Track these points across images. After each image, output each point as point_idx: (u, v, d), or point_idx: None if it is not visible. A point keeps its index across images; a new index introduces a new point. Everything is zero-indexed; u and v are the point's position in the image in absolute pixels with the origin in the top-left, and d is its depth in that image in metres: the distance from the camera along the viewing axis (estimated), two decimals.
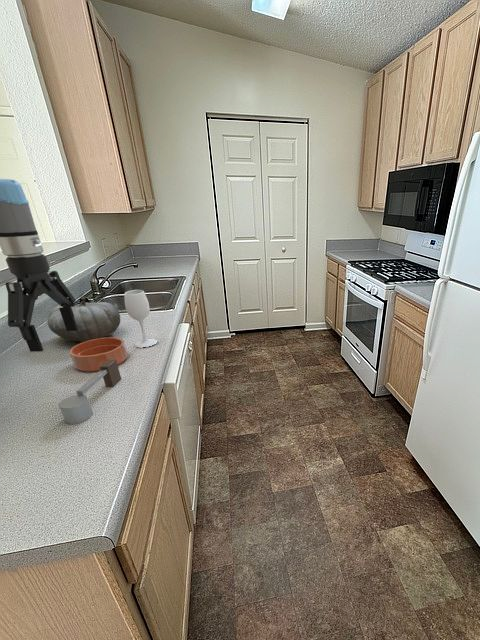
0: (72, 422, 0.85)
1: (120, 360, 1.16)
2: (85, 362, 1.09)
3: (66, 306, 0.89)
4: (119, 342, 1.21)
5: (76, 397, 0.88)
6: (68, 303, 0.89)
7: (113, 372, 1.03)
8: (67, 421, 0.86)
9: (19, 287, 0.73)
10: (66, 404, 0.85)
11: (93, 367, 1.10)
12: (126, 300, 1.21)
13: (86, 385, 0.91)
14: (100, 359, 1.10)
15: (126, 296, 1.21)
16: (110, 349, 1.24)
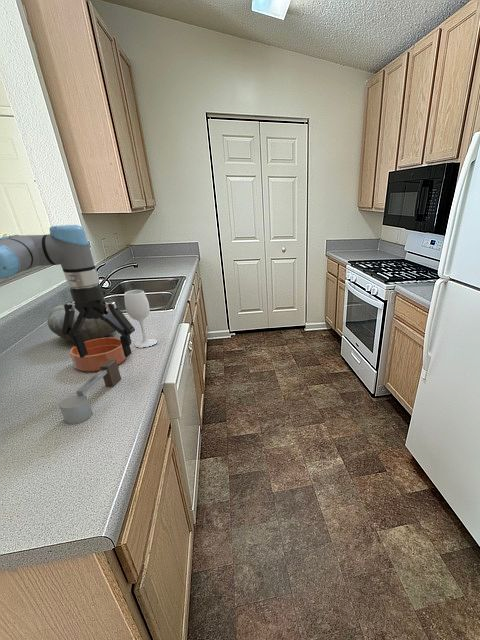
0: (72, 422, 0.85)
1: (120, 360, 1.16)
2: (85, 362, 1.09)
3: None
4: (119, 342, 1.21)
5: (76, 397, 0.88)
6: (120, 333, 0.96)
7: (113, 372, 1.03)
8: (67, 421, 0.86)
9: (66, 308, 0.93)
10: (66, 404, 0.85)
11: (93, 367, 1.10)
12: (126, 300, 1.21)
13: (86, 385, 0.91)
14: (100, 359, 1.10)
15: (126, 296, 1.21)
16: (110, 349, 1.24)
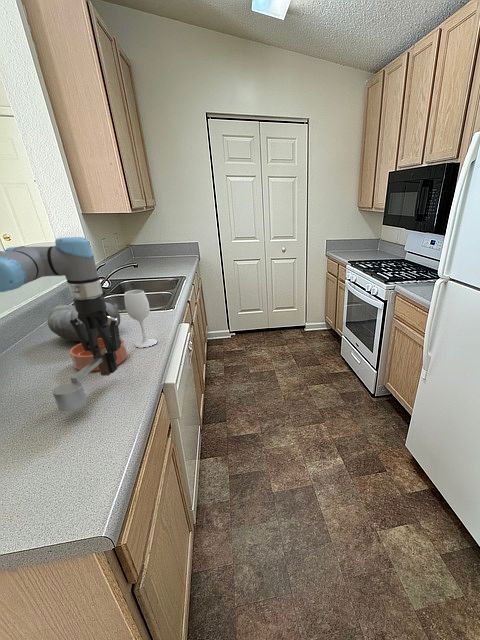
0: (65, 409, 0.84)
1: (120, 360, 1.16)
2: (85, 362, 1.09)
3: None
4: None
5: (70, 384, 0.86)
6: (107, 349, 0.98)
7: None
8: (60, 408, 0.84)
9: (73, 323, 0.95)
10: (60, 390, 0.83)
11: None
12: (126, 300, 1.21)
13: (81, 373, 0.89)
14: None
15: (126, 296, 1.21)
16: None
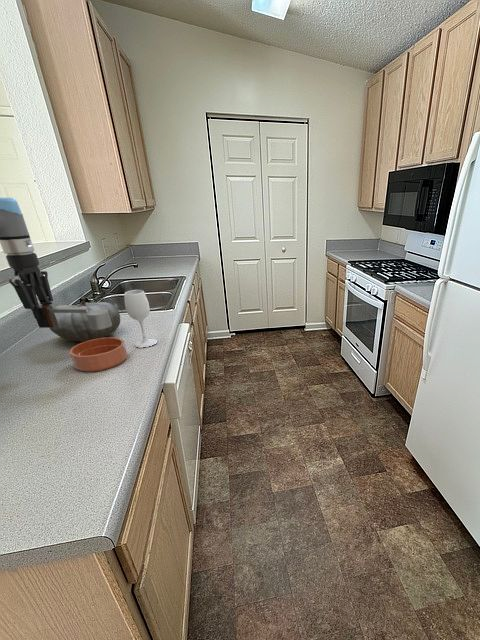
0: (110, 324, 1.12)
1: (120, 360, 1.16)
2: (85, 362, 1.09)
3: (44, 303, 1.10)
4: (119, 342, 1.21)
5: (91, 312, 1.09)
6: (47, 300, 1.10)
7: None
8: (107, 325, 1.10)
9: (20, 282, 1.00)
10: (99, 312, 1.09)
11: (93, 367, 1.10)
12: (126, 300, 1.21)
13: (80, 308, 1.09)
14: (100, 359, 1.10)
15: (126, 296, 1.21)
16: (110, 349, 1.24)
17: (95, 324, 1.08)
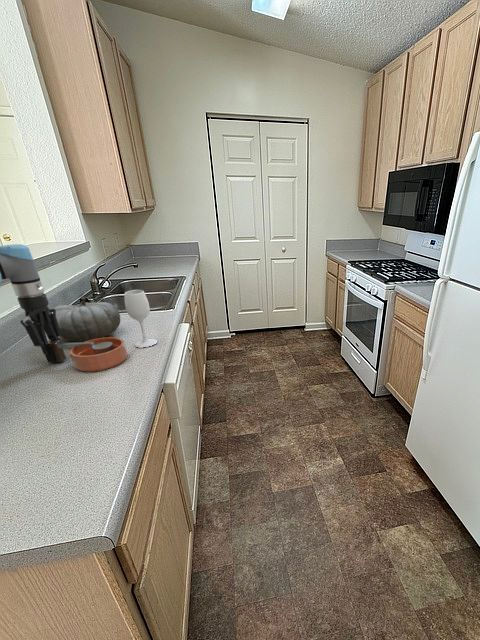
0: None
1: (120, 360, 1.16)
2: (85, 362, 1.09)
3: (52, 339, 1.16)
4: (119, 342, 1.21)
5: (97, 345, 1.15)
6: (55, 336, 1.16)
7: None
8: None
9: (30, 323, 1.06)
10: (104, 346, 1.14)
11: (93, 367, 1.10)
12: (126, 300, 1.21)
13: (86, 342, 1.15)
14: (100, 359, 1.10)
15: (126, 296, 1.21)
16: None
17: None
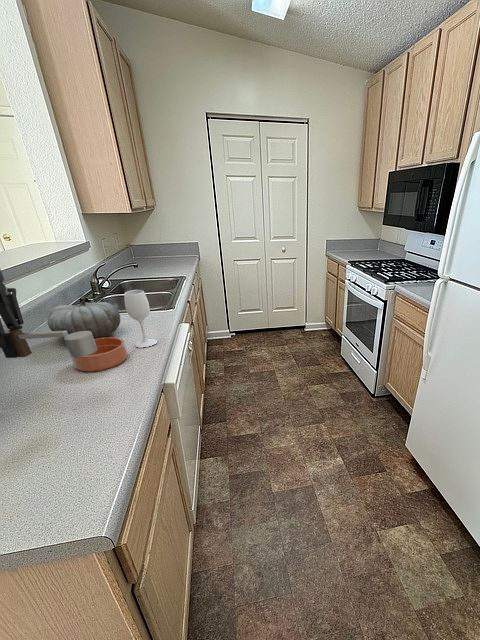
0: (95, 349, 0.90)
1: (120, 360, 1.16)
2: (85, 362, 1.09)
3: (12, 327, 0.89)
4: (119, 342, 1.21)
5: (70, 335, 0.88)
6: (15, 324, 0.89)
7: None
8: (91, 351, 0.89)
9: None
10: (80, 336, 0.87)
11: (93, 367, 1.10)
12: (126, 300, 1.21)
13: (56, 331, 0.88)
14: (100, 359, 1.10)
15: (126, 296, 1.21)
16: (110, 349, 1.24)
17: (76, 350, 0.86)
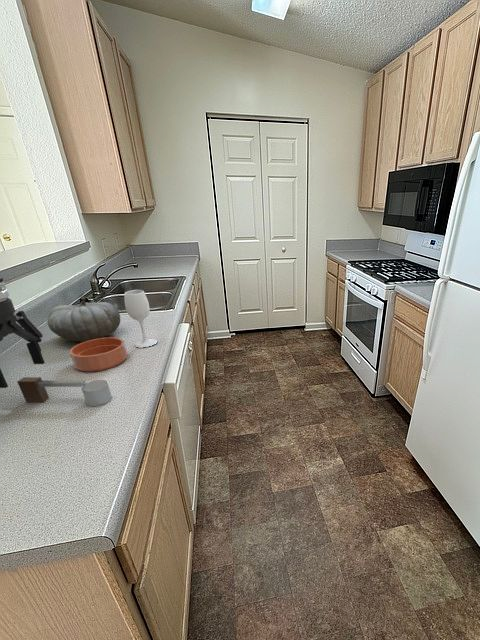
0: (110, 398, 0.96)
1: (120, 360, 1.16)
2: (85, 362, 1.09)
3: (33, 342, 0.96)
4: (119, 342, 1.21)
5: (87, 385, 0.93)
6: (35, 339, 0.95)
7: None
8: (107, 400, 0.94)
9: None
10: (97, 386, 0.93)
11: (93, 367, 1.10)
12: (126, 300, 1.21)
13: (74, 380, 0.93)
14: (100, 359, 1.10)
15: (126, 296, 1.21)
16: (110, 349, 1.24)
17: (93, 400, 0.92)
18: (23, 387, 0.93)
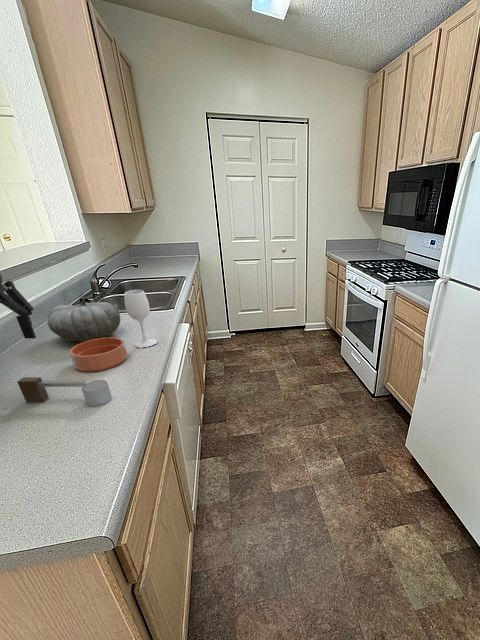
0: (110, 398, 0.96)
1: (120, 360, 1.16)
2: (85, 362, 1.09)
3: (23, 314, 0.92)
4: (119, 342, 1.21)
5: (87, 385, 0.93)
6: (25, 312, 0.91)
7: None
8: (107, 400, 0.94)
9: None
10: (97, 386, 0.93)
11: (93, 367, 1.10)
12: (126, 300, 1.21)
13: (74, 380, 0.93)
14: (100, 359, 1.10)
15: (126, 296, 1.21)
16: (110, 349, 1.24)
17: (93, 400, 0.92)
18: (23, 387, 0.93)
